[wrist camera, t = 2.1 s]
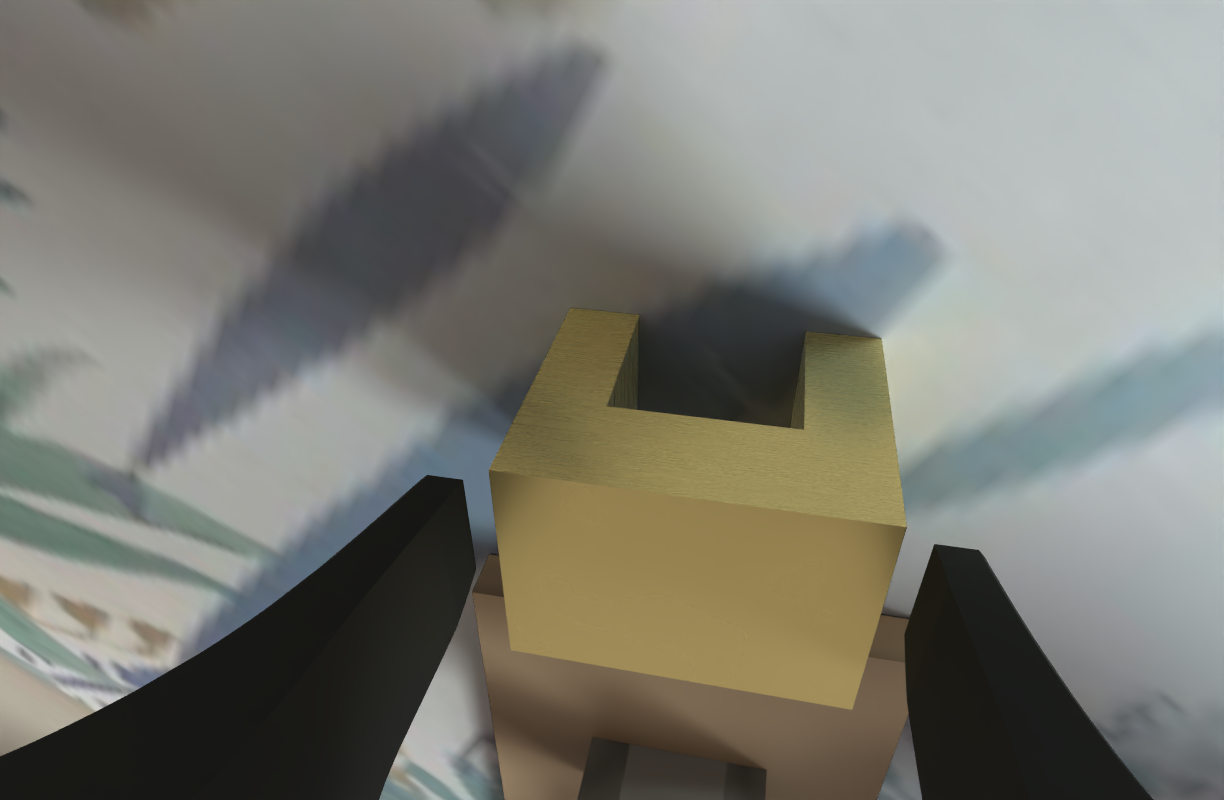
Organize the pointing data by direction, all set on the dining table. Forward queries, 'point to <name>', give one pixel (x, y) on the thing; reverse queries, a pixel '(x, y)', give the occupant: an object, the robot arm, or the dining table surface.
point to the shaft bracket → (680, 726)
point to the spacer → (700, 521)
